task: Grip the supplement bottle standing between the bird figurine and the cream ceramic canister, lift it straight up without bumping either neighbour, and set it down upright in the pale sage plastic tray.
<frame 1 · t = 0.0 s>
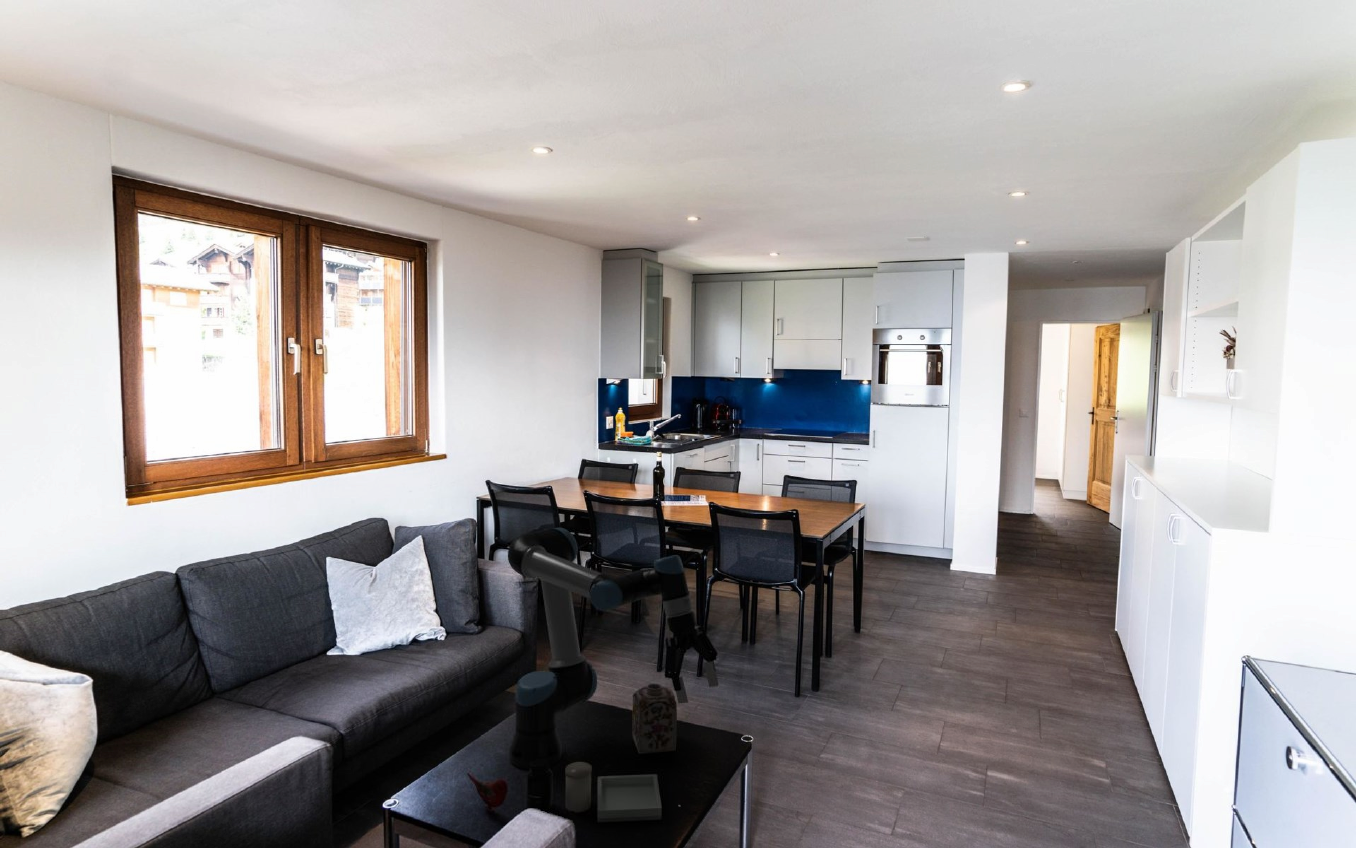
hand: (699, 694, 195), 28 cm above the table, tool tilted 20°, fingers open, 13 cm apart
decorative jar: (653, 744, 225), on the table
supplement bottle: (539, 807, 191), on the table
cream canister: (578, 805, 192), on the table
sage tray: (628, 802, 193), on the table
decorative bird figurine: (486, 810, 189), on the table
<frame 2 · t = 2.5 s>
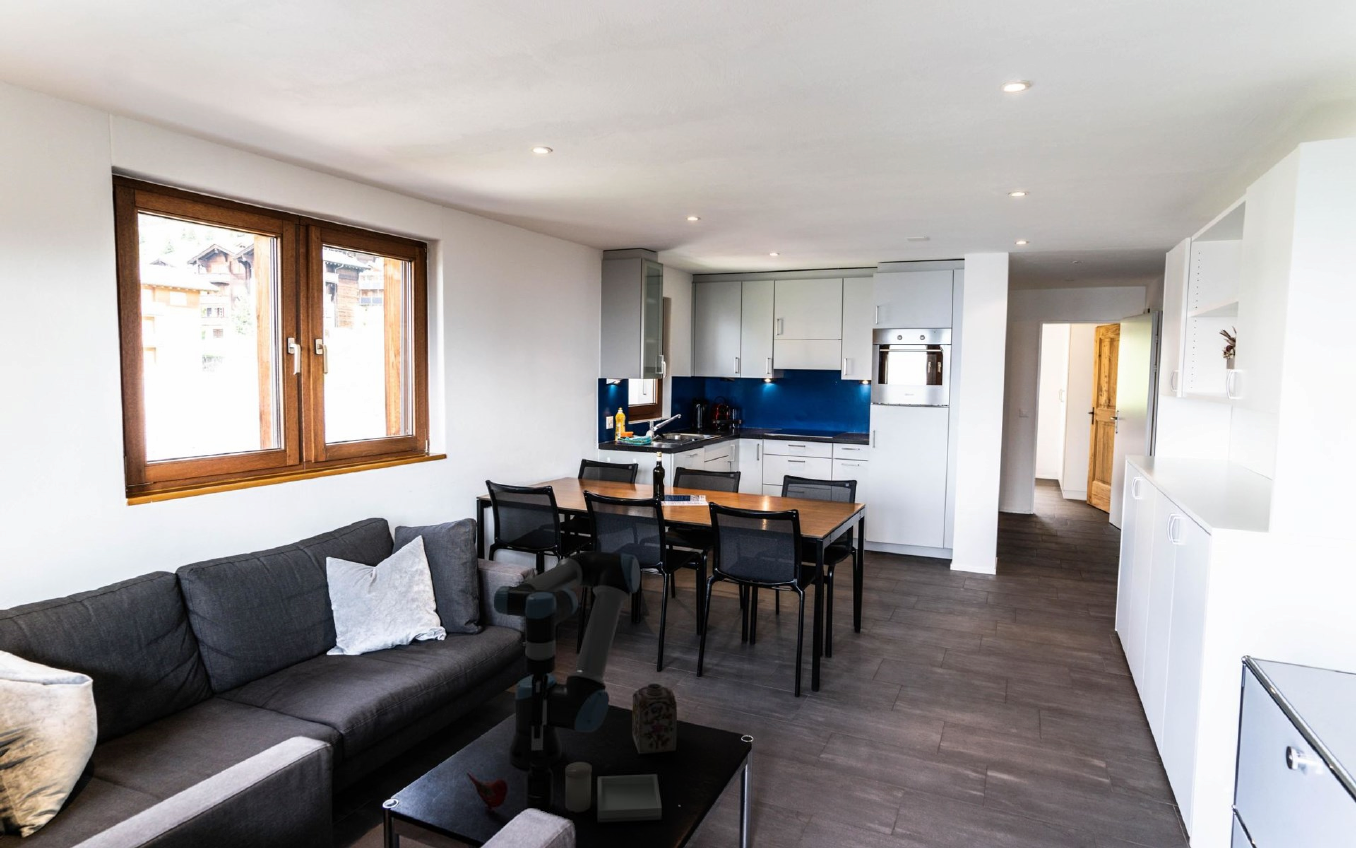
hand: (539, 736, 190), 19 cm above the table, tool pointing down, fingers open, 13 cm apart
nothing on the table moved.
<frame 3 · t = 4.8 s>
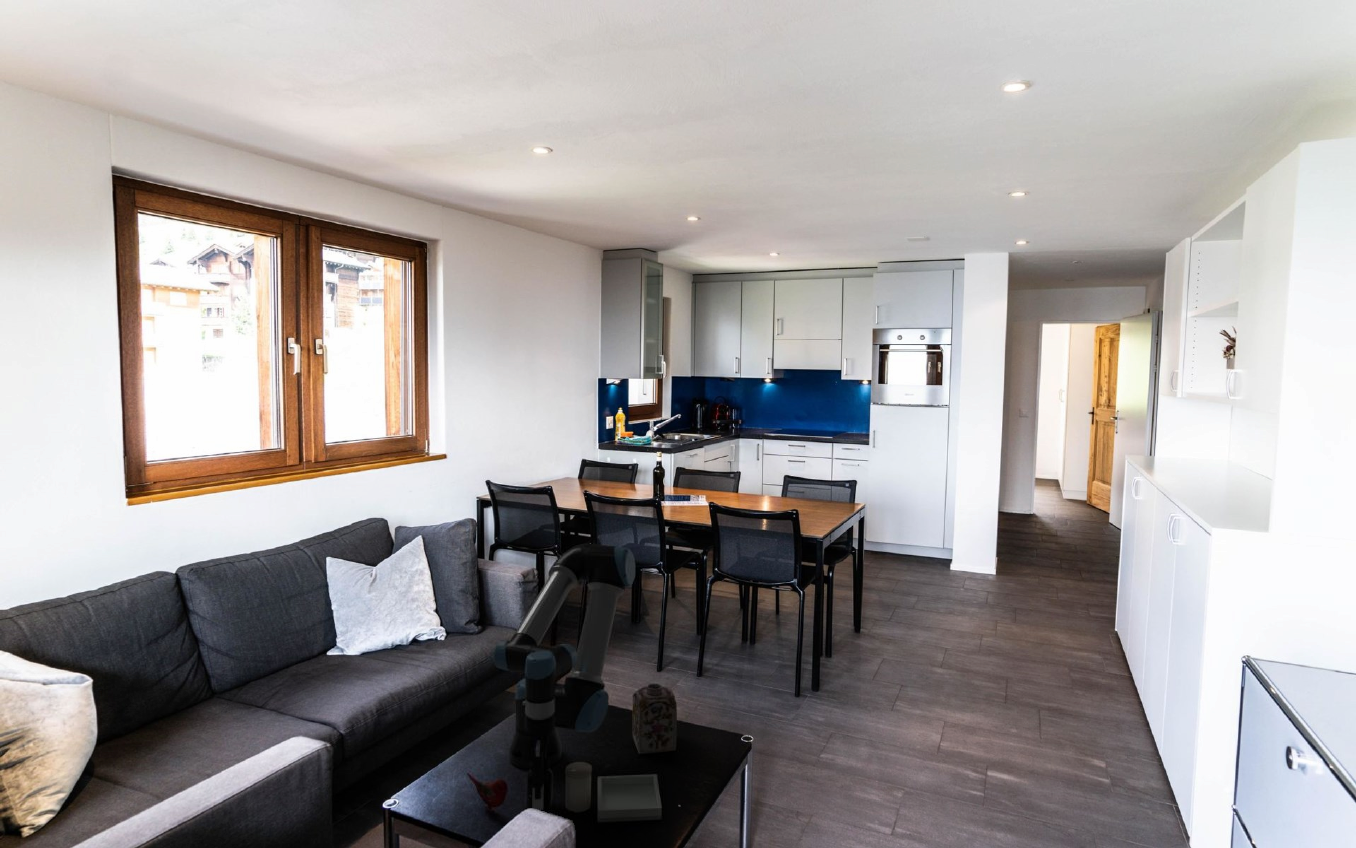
hand: (539, 801, 191), 2 cm above the table, tool pointing down, fingers closed on supplement bottle, 7 cm apart
supplement bottle: (539, 807, 191), on the table, touching gripper
everything else where it was.
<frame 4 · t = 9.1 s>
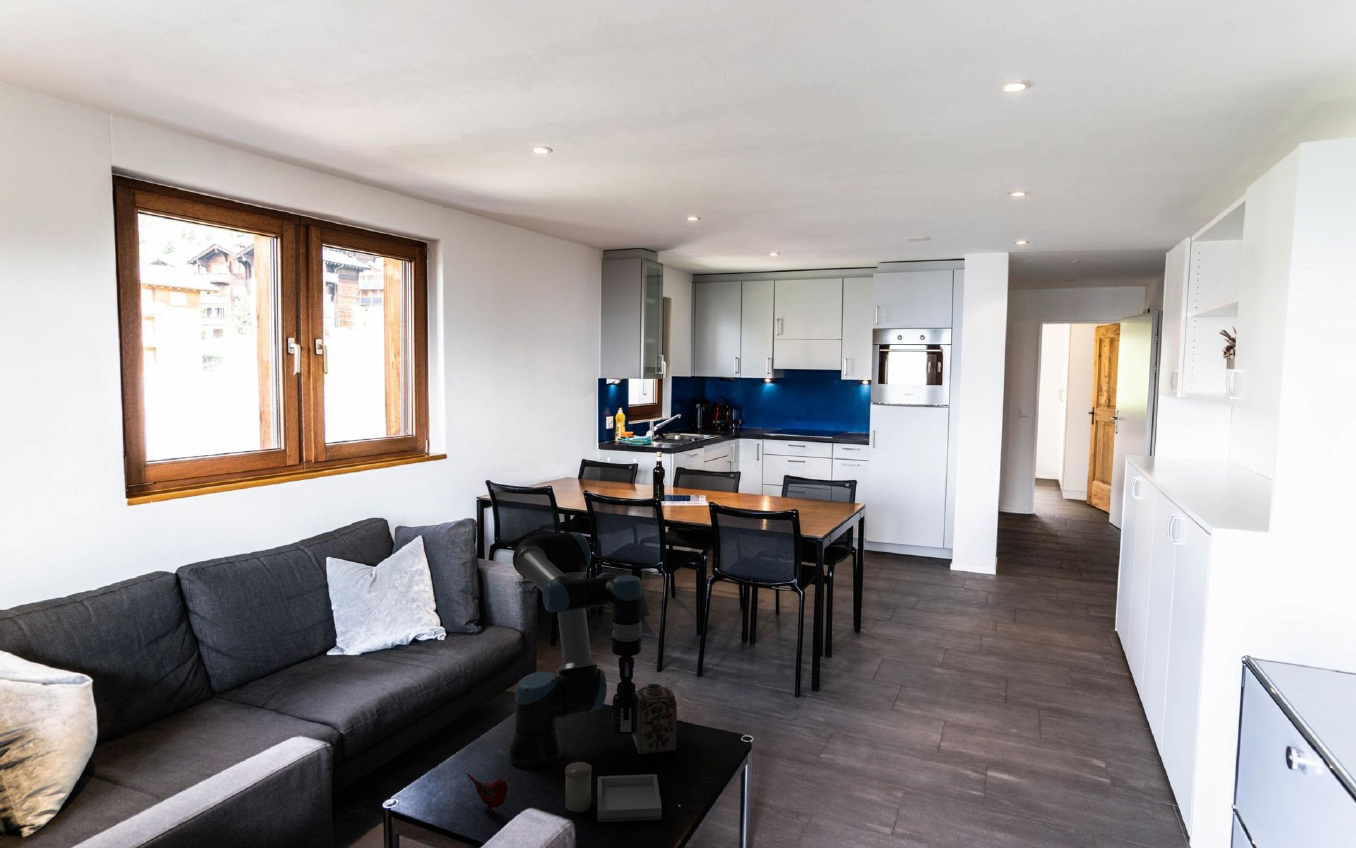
hand: (625, 724, 192), 21 cm above the table, tool pointing down, fingers closed on supplement bottle, 7 cm apart
supplement bottle: (625, 730, 192), point 20 cm above the table, touching gripper
everything else where it was.
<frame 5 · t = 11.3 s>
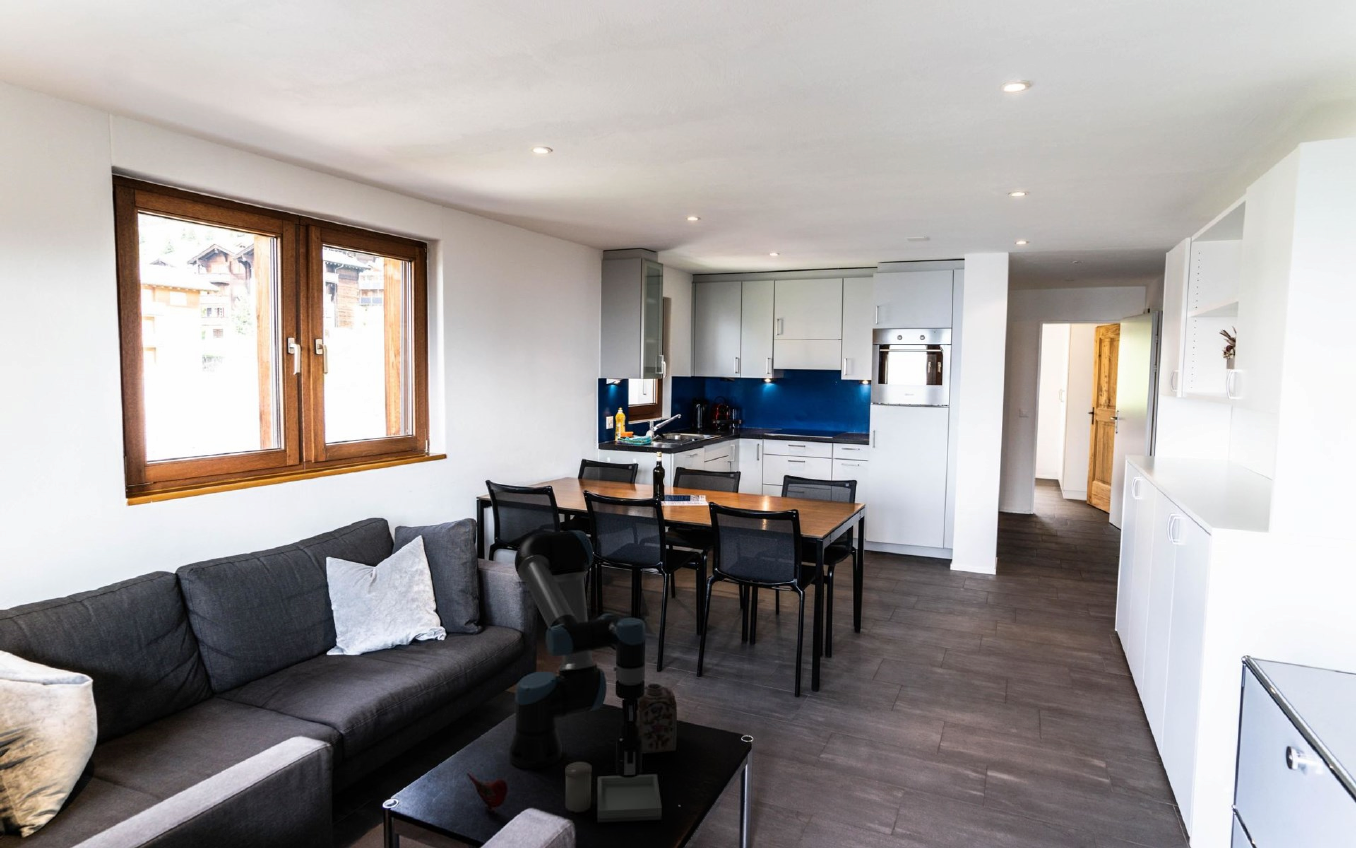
hand: (629, 766, 193), 10 cm above the table, tool pointing down, fingers closed on supplement bottle, 7 cm apart
supplement bottle: (628, 772, 193), point 8 cm above the table, touching gripper
everything else where it was.
when the fingers open (4 cm above the table, at t = 13.2 s): supplement bottle drops 2 cm, resting on sage tray.
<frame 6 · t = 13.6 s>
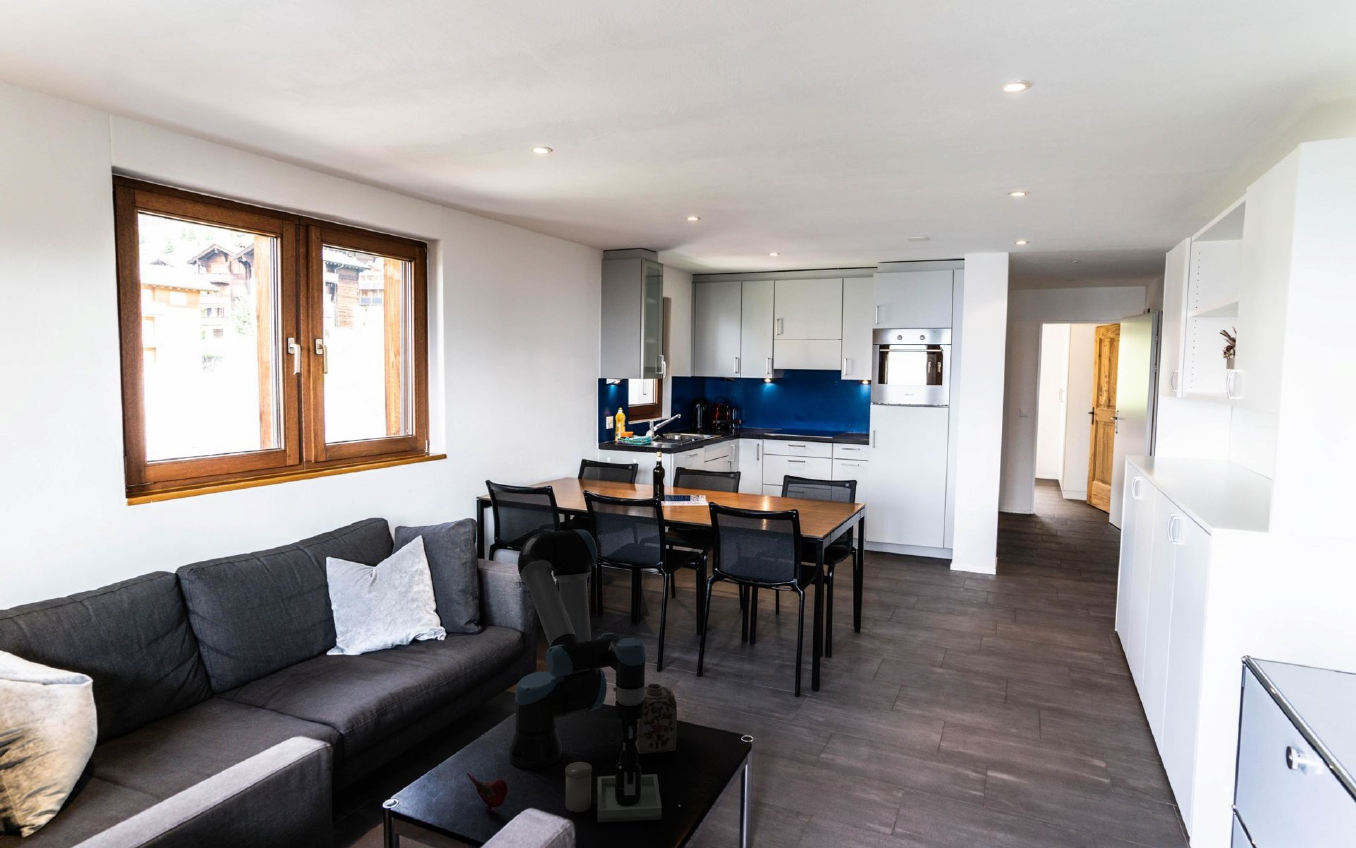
hand: (628, 780, 193), 6 cm above the table, tool pointing down, fingers open, 12 cm apart
supplement bottle: (627, 800, 193), point 1 cm above the table, touching sage tray
everything else where it was.
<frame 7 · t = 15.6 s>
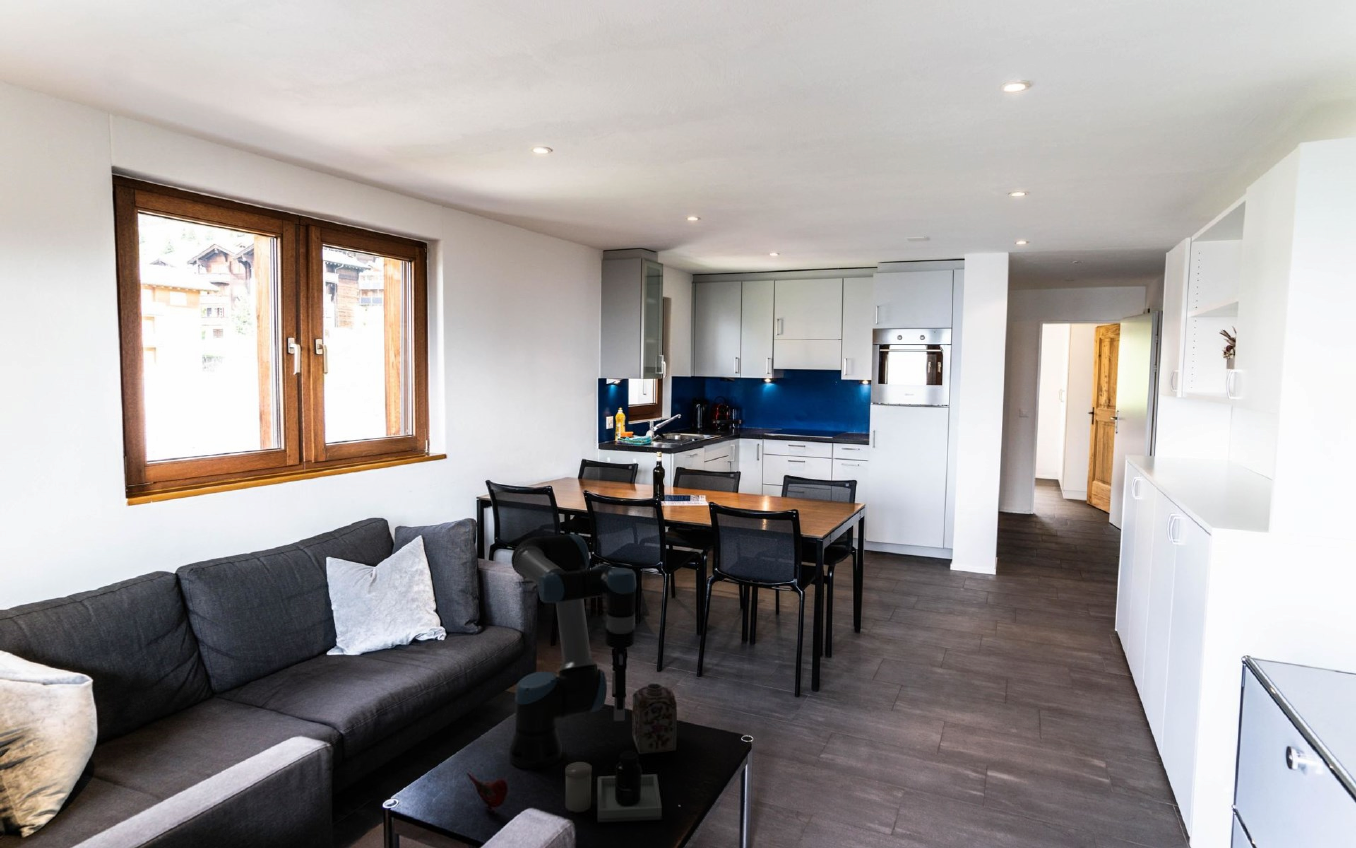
hand: (618, 707, 194), 24 cm above the table, tool pointing down, fingers open, 13 cm apart
nothing on the table moved.
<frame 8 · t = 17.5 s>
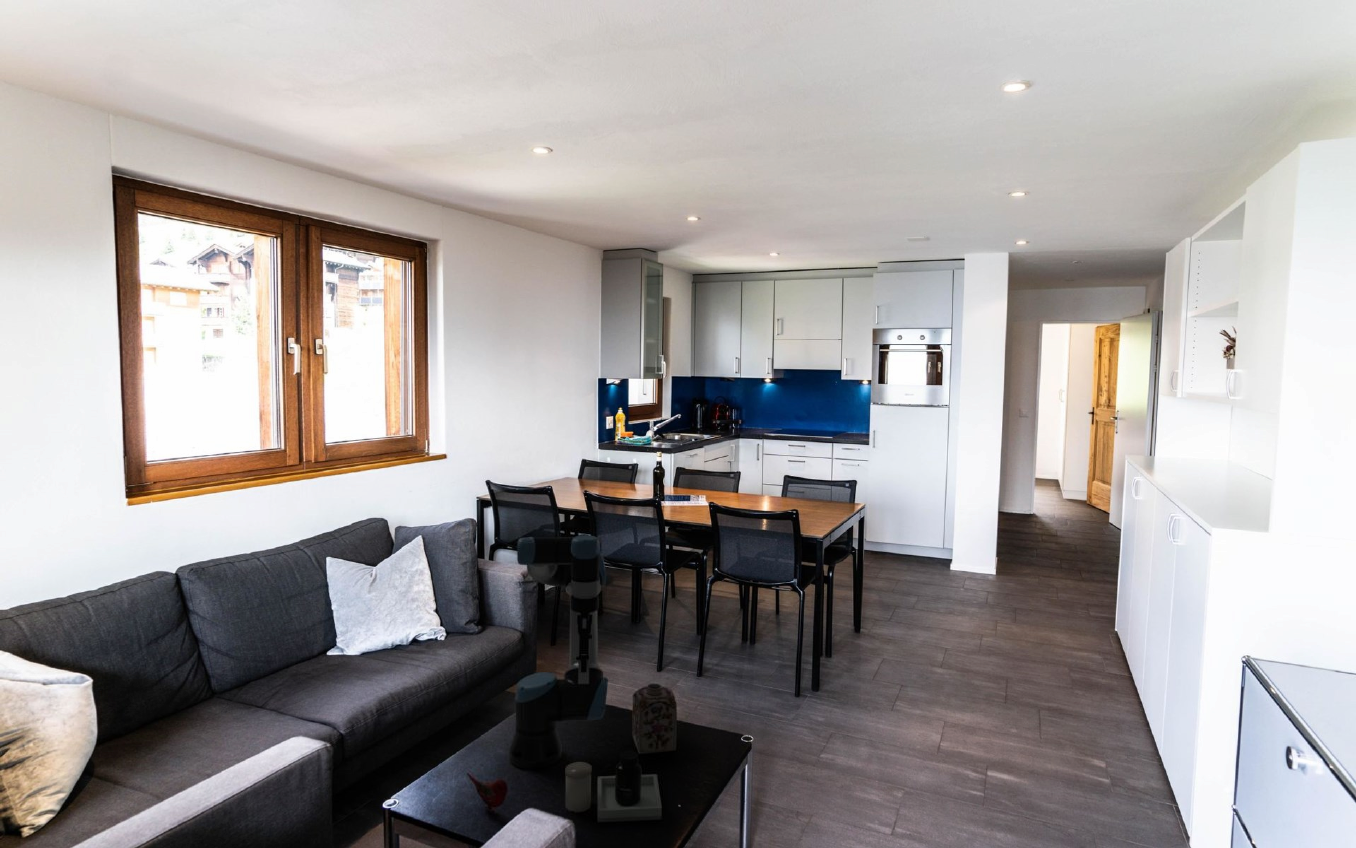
hand: (584, 673, 198), 32 cm above the table, tool pointing down, fingers open, 13 cm apart
nothing on the table moved.
at the end: supplement bottle inside the target area on the sage tray (0.2 cm from its centre), point 0.8 cm above the sage tray's base; supplement bottle tilted 0°; cream canister moved 0.0 cm from its start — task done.
